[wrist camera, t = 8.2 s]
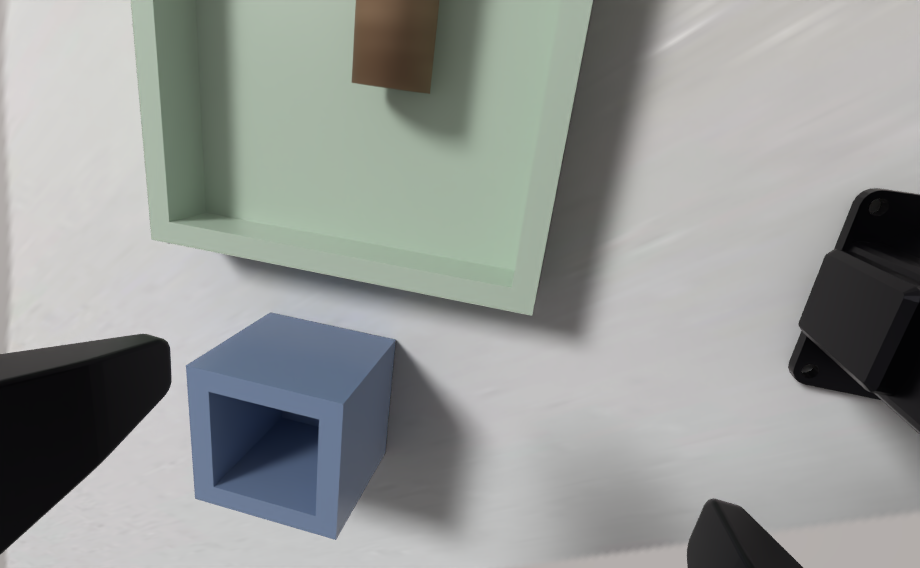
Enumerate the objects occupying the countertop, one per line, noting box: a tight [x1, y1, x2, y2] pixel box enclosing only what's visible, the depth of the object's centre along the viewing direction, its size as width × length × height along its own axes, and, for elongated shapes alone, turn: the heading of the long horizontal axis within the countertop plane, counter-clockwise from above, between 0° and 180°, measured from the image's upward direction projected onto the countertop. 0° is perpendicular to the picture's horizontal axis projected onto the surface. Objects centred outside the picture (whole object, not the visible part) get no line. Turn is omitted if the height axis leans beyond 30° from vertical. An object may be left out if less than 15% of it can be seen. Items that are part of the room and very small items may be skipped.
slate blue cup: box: [186, 312, 396, 540], centre depth 19 cm, size 6×6×5 cm
